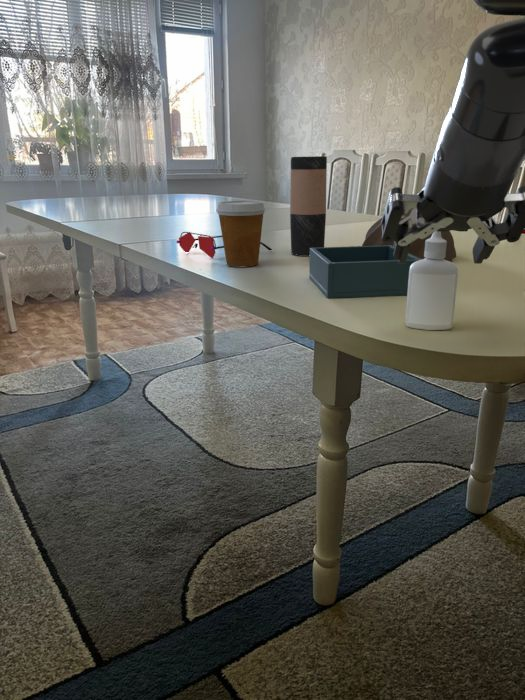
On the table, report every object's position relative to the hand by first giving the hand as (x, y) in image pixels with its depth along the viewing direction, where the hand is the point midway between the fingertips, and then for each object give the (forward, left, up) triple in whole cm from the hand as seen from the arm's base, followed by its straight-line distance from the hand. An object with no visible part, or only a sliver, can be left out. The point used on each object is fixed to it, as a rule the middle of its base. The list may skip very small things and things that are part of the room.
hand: (438, 257), depth 63 cm
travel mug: (+5, -57, -9) cm, 58 cm away
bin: (+2, -25, -9) cm, 26 cm away
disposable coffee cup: (+20, -47, -9) cm, 52 cm away
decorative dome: (-15, -50, -9) cm, 53 cm away
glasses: (+23, -62, -9) cm, 67 cm away
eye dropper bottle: (0, -2, -9) cm, 9 cm away
